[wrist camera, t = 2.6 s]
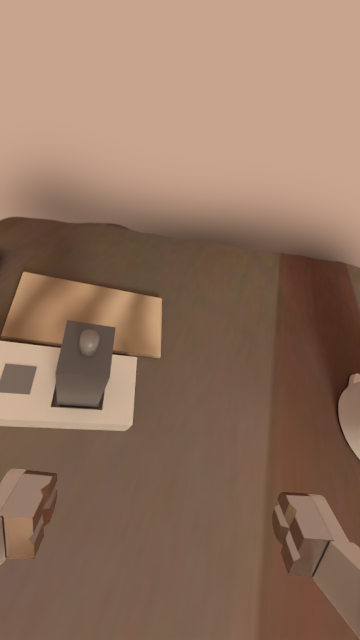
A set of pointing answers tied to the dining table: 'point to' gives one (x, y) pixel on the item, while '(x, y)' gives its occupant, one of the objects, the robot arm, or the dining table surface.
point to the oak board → (83, 314)
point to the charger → (84, 364)
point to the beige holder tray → (41, 395)
